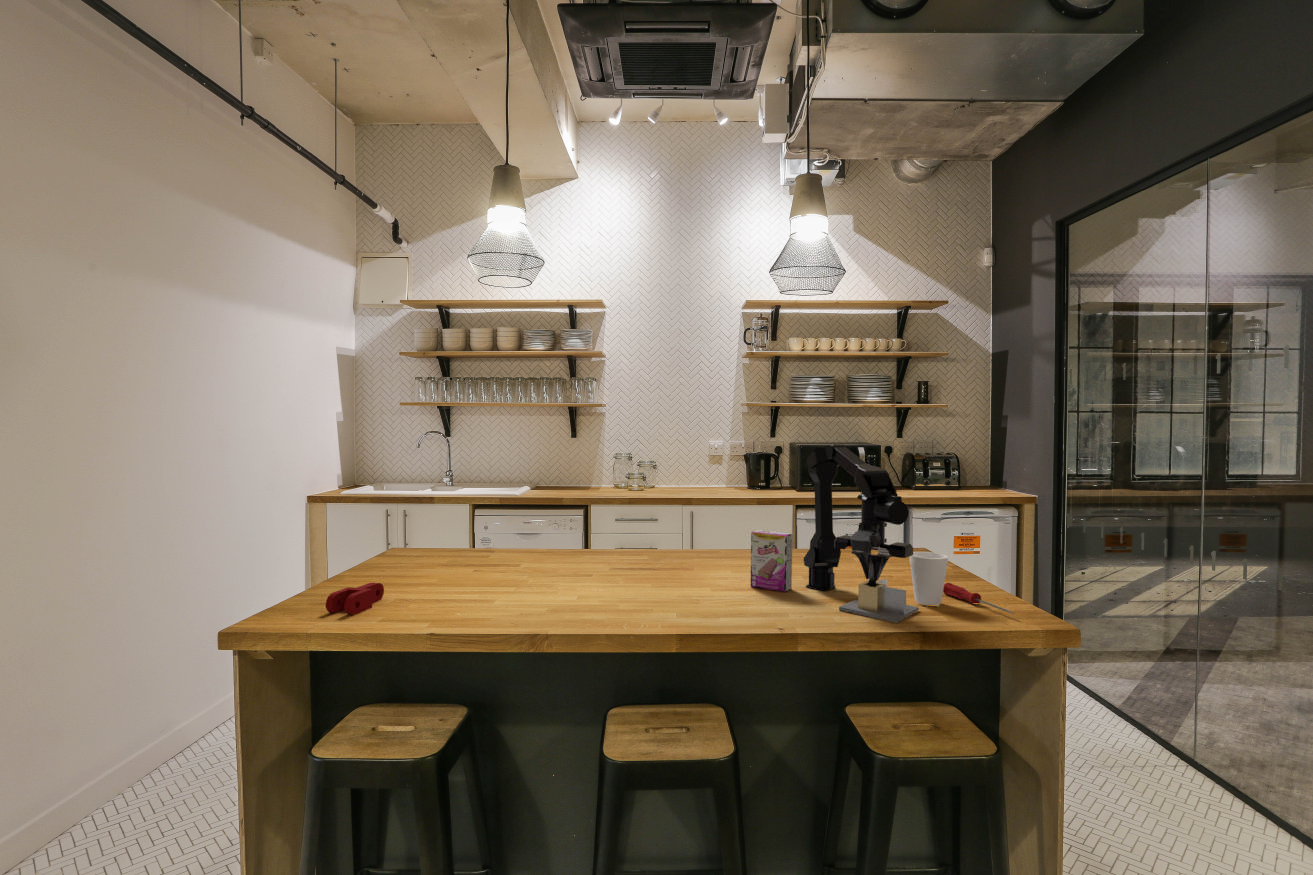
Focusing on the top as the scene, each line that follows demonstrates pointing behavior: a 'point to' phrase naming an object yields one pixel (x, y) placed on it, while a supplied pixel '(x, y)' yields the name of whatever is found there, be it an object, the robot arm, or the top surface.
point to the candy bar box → (771, 560)
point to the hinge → (881, 597)
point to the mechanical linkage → (354, 598)
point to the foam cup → (928, 576)
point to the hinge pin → (871, 570)
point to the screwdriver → (966, 595)
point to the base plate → (880, 614)
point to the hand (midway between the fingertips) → (872, 579)
